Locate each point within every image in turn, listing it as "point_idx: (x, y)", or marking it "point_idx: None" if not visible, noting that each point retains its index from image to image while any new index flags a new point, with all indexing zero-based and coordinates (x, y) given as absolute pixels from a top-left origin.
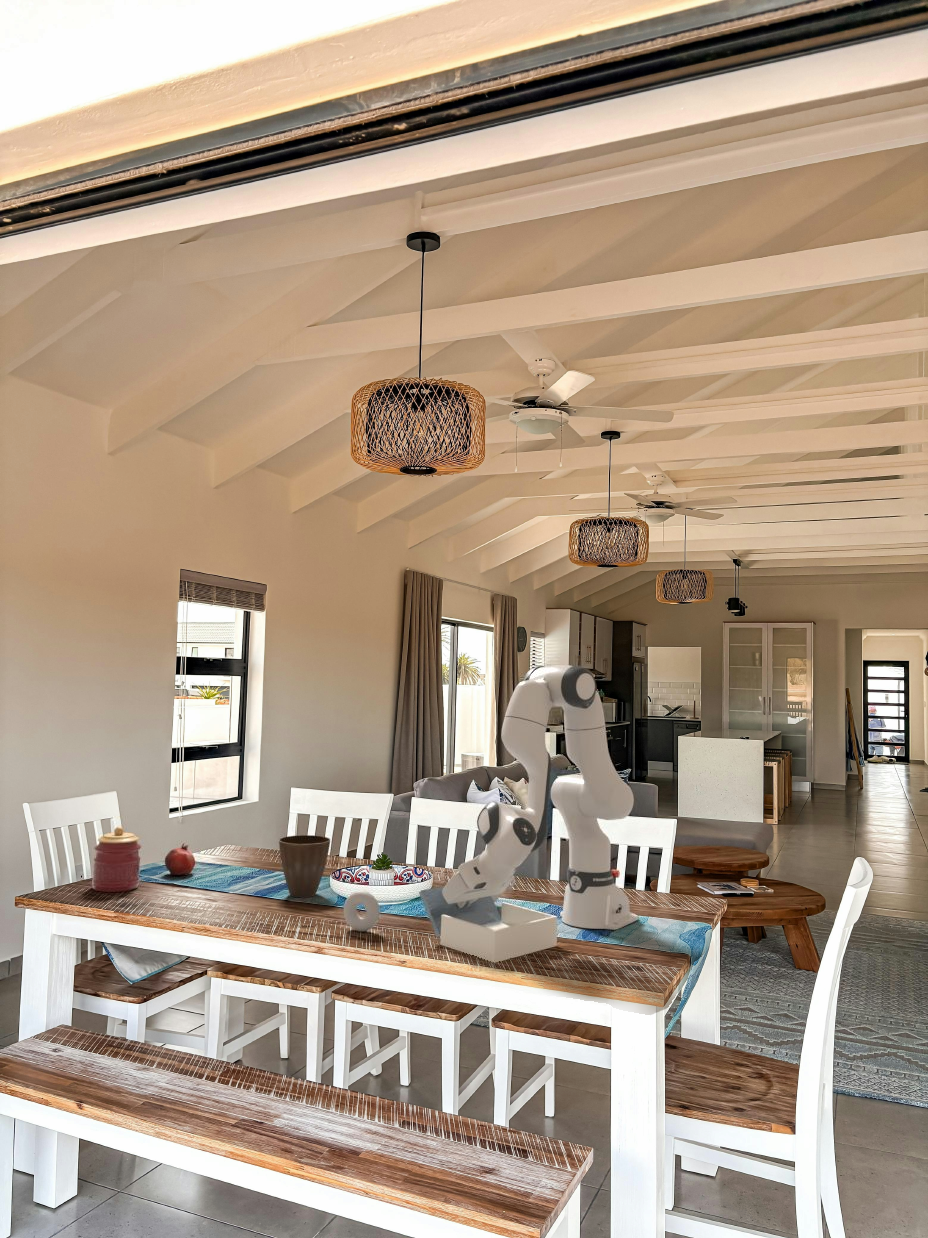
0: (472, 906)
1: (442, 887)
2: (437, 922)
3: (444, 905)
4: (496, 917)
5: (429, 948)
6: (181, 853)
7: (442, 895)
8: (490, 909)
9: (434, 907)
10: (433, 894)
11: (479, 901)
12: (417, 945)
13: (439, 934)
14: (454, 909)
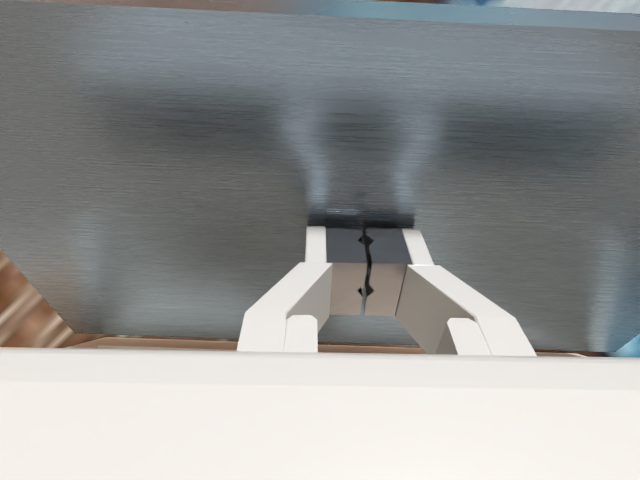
0: (464, 265)
1: (179, 19)
2: (59, 290)
3: (156, 212)
4: (596, 338)
5: (18, 343)
6: None
7: (154, 122)
8: (612, 302)
9: (30, 206)
10: (7, 87)
11: (581, 248)
12: (14, 265)
13: (74, 332)
14: (259, 252)
